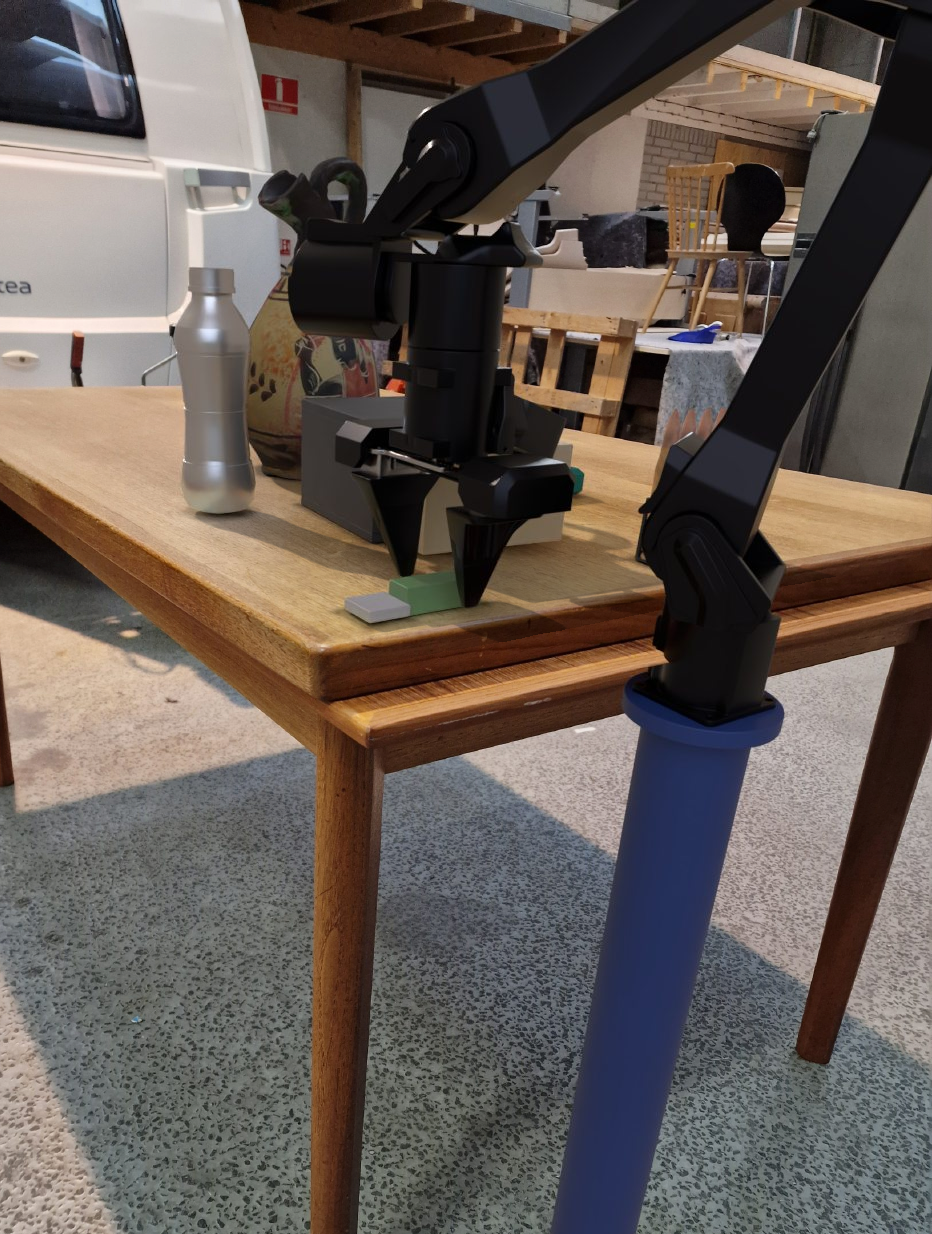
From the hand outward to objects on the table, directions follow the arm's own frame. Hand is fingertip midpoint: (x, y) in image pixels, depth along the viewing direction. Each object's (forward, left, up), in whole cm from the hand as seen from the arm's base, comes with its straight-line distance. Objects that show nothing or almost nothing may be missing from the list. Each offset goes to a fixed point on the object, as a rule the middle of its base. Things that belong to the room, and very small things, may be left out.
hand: (436, 591), depth 66 cm
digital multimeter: (+29, -31, -1) cm, 43 cm away
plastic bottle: (+30, +3, -1) cm, 30 cm away
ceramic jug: (+43, -14, -1) cm, 45 cm away
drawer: (+12, -12, 0) cm, 17 cm away
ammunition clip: (+1, -27, -1) cm, 27 cm away
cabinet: (+22, -12, -1) cm, 25 cm away
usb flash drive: (0, +2, -1) cm, 2 cm away
